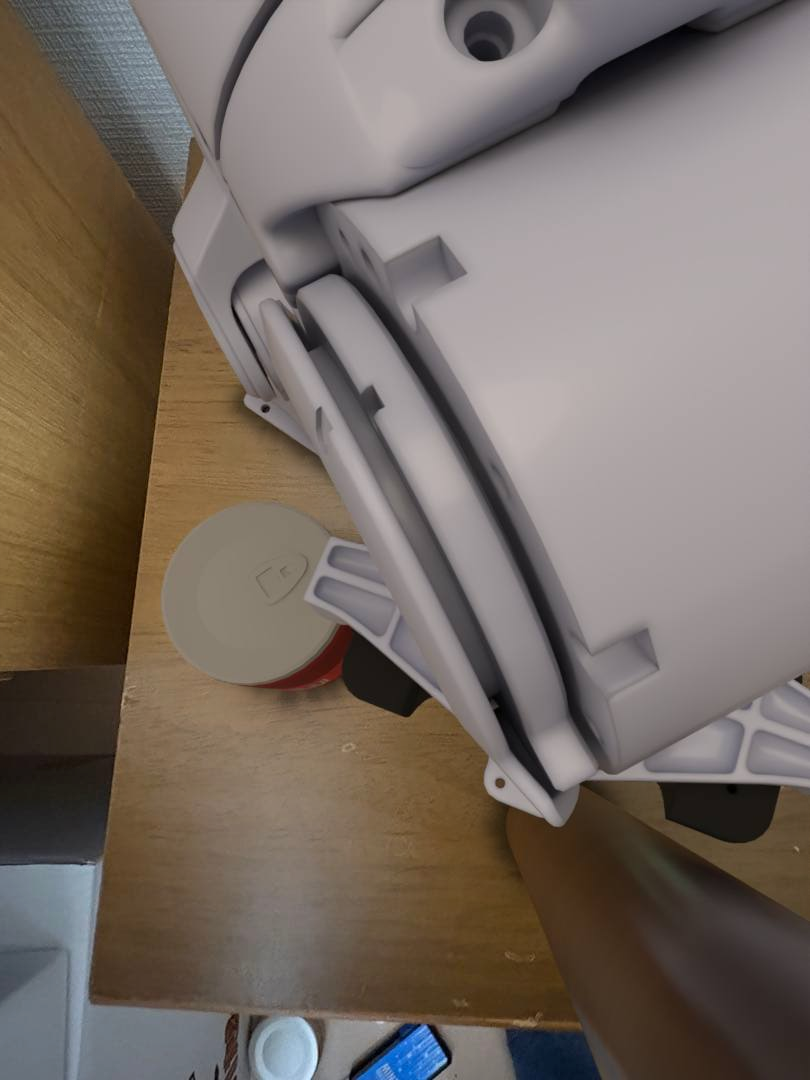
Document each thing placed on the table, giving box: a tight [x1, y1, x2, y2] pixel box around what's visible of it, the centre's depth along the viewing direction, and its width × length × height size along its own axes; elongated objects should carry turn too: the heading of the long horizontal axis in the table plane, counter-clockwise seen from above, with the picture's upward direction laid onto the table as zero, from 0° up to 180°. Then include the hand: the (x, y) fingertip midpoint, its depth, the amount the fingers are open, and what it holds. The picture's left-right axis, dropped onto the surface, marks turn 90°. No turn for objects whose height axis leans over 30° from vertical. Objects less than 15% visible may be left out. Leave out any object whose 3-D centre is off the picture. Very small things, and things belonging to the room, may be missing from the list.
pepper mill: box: [505, 783, 810, 1080], centre depth 21 cm, size 5×5×40 cm
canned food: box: [160, 500, 353, 692], centre depth 38 cm, size 8×8×11 cm
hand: (551, 703), depth 29 cm, fingers open, 7 cm apart
